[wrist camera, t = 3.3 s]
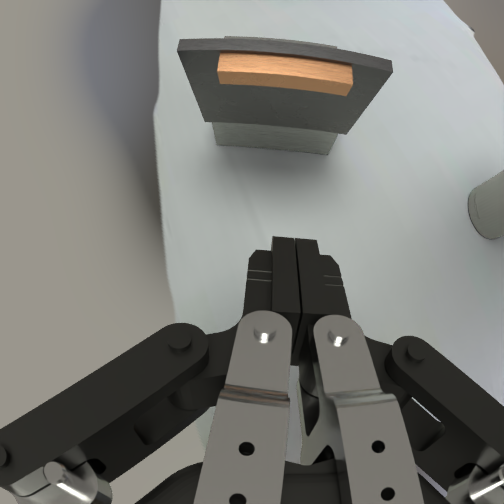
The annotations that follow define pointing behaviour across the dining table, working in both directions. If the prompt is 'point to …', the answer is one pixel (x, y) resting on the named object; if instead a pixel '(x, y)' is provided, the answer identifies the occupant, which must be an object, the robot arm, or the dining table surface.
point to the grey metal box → (274, 129)
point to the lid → (281, 82)
